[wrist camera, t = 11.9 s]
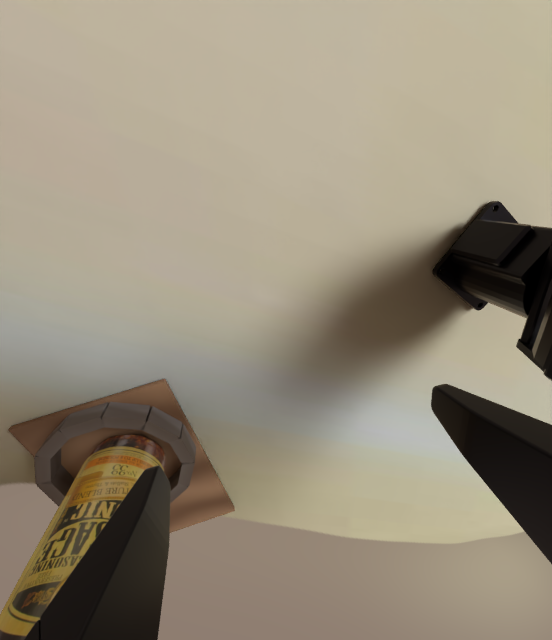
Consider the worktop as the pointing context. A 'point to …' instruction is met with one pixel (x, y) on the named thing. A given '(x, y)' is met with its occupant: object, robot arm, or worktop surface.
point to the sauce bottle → (77, 526)
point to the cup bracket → (127, 418)
